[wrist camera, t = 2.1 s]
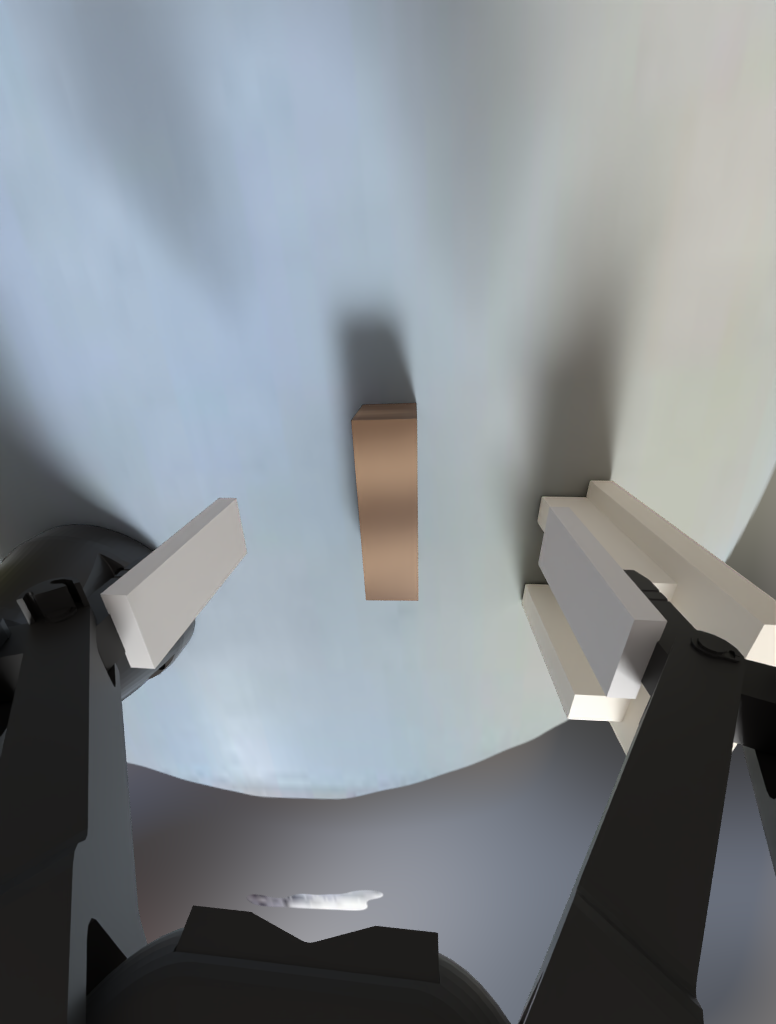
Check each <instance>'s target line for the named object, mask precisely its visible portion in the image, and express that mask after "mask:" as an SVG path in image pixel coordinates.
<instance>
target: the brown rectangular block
mask: <svg viewBox="0 0 776 1024" xmlns="http://www.w3.org/2000/svg"><path fill="white" fill-rule="evenodd" d="M351 423H352V435H353V447H354V460H355V472H356V484H357V496H358V508H359V520H360V532H361V545H362V557H363V569H364V581H365V593H366V600H406V601H418V497H417V407H416V403H398V404H366V405H362V406H361V408H360V409H359V411H358V412H357V413H356V415H355V416H354V417H353V419H352V420H351Z"/></svg>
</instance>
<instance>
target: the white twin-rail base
mask: <svg viewBox="0 0 776 1024" xmlns="http://www.w3.org/2000/svg"><path fill="white" fill-rule="evenodd" d="M549 507H569V508H570V509H571V510H572V511H573V512H574V514H575V515H576V516H577V517H578V518H579V519H580V521H581V522H582V523H583V524H584V525H585V526H586V527H587V529H588V530H589V531H590V532H591V533H592V534H593V536H594V537H595V538H596V539H597V540H598V541H599V543H600V544H601V545H602V546H603V547H604V548H605V550H606V551H607V552H608V553H609V554H610V555H611V556H612V558H613V559H614V560H615V561H616V562H617V563H618V565H619V566H620V567H621V568H622V569H623V570H635V571H636V572H638V573H639V574H641V575H643V576H644V577H646V578H647V579H649V580H650V581H651V582H652V583H653V584H654V585H655V586H656V587H657V588H658V590H659V592H661V593H662V594H663V595H664V596H665V597H666V598H667V599H668V601H670V602H671V603H672V604H673V606H674V607H675V608H676V609H677V610H678V611H679V612H680V613H681V614H682V615H683V616H684V617H685V618H686V619H687V621H688V622H689V623H690V624H691V625H692V626H693V627H694V628H695V629H696V630H700V631H704V632H707V633H710V634H713V635H716V636H718V637H720V638H722V639H724V640H726V641H727V642H729V643H730V644H731V645H733V646H734V647H736V648H737V649H738V650H739V652H740V653H741V654H742V655H743V656H744V659H747V660H751V661H755V662H759V663H763V664H767V665H771V666H775V667H776V600H774V599H773V598H772V597H770V596H769V595H768V594H766V593H765V592H764V591H762V590H761V589H759V588H758V587H757V586H755V585H754V584H752V583H751V582H750V581H749V580H747V579H746V578H744V577H743V576H742V575H740V574H739V573H738V572H736V571H735V570H733V569H732V568H731V567H730V566H728V565H727V564H725V563H724V562H723V561H721V560H720V559H719V558H717V557H716V556H715V555H713V554H712V553H710V552H709V551H708V550H706V549H705V548H704V547H702V546H701V545H700V544H698V543H697V542H695V541H694V540H693V539H691V538H690V537H689V536H687V535H686V534H685V533H683V532H682V531H680V530H679V529H678V528H676V527H675V526H674V525H672V524H671V523H670V522H668V521H667V520H665V519H664V518H663V517H661V516H660V515H659V514H657V513H656V512H655V511H653V510H652V509H650V508H649V507H648V506H646V505H645V504H644V503H642V502H641V501H640V500H638V499H637V498H635V497H634V496H633V495H631V494H630V493H629V492H627V491H626V490H625V489H623V488H622V487H620V486H619V485H618V484H616V483H615V482H614V481H593V480H590V483H589V487H588V491H587V495H586V497H544V496H542V499H541V504H540V509H539V515H538V520H537V522H538V524H539V525H540V527H541V528H542V530H543V531H545V526H546V521H547V516H548V511H549ZM522 606H523V609H524V611H525V614H526V616H527V619H528V621H529V624H530V626H531V629H532V631H533V634H534V636H535V639H536V641H537V644H538V646H539V649H540V651H541V654H542V656H543V659H544V661H545V664H546V666H547V669H548V671H549V674H550V676H551V679H552V681H553V684H554V686H555V689H556V691H557V694H558V696H559V699H560V701H561V704H562V706H563V709H564V711H565V714H566V716H567V719H580V720H599V721H609V722H610V724H611V726H612V728H613V730H614V732H615V734H616V736H617V738H618V740H619V742H620V744H621V746H622V748H623V750H624V752H625V754H626V755H627V753H628V750H629V748H630V746H631V743H632V741H633V738H634V736H635V733H636V731H637V728H638V726H639V722H640V720H641V717H642V715H643V713H644V710H645V708H646V706H647V703H648V701H649V699H650V697H651V696H650V695H649V693H648V692H647V690H646V689H645V687H644V685H643V684H641V687H640V689H639V692H638V694H637V697H636V699H626V698H610V697H606V695H605V693H604V691H603V690H602V688H601V686H600V684H599V682H598V680H597V678H596V676H595V674H594V672H593V670H592V668H591V666H590V664H589V662H588V660H587V658H586V656H585V654H584V653H583V651H582V649H581V647H580V645H579V643H578V641H577V639H576V637H575V635H574V633H573V631H572V629H571V627H570V625H569V623H568V621H567V619H566V617H565V616H564V614H563V612H562V610H561V608H560V606H559V604H558V602H557V600H556V598H555V596H554V594H553V592H552V590H551V588H550V586H549V585H542V584H525V589H524V595H523V600H522ZM736 745H737V743H734V742H733V748H732V751H733V750H734V748H735V746H736Z"/></svg>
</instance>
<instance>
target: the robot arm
mask: <svg viewBox="0 0 776 1024" xmlns="http://www.w3.org/2000/svg"><path fill="white" fill-rule="evenodd" d="M246 554H247V549H246V544H245V539H244V534H243V529H242V524H241V519H240V514H239V509H238V504H237V499H236V498H218V499H217V500H216V501H215V502H214V503H212V504H211V505H210V506H209V507H207V508H206V509H205V510H204V511H202V512H201V513H200V514H199V515H197V516H196V517H195V518H194V519H192V520H191V521H190V522H189V523H188V524H186V525H185V526H184V527H183V528H181V529H180V530H179V531H178V532H176V533H175V534H174V535H173V536H171V537H170V538H169V539H168V540H167V541H165V542H164V543H163V544H162V545H160V546H159V547H158V548H157V549H155V550H154V551H151V550H150V549H148V548H147V547H145V546H144V545H142V544H140V543H139V542H137V541H135V540H133V539H131V538H129V537H127V536H125V535H122V534H120V533H117V532H114V531H111V530H108V529H104V528H100V527H95V526H88V525H66V526H60V527H56V528H53V529H50V530H47V531H45V532H43V533H41V534H40V535H38V536H36V537H34V538H32V539H30V540H28V541H26V542H25V543H23V544H21V545H20V546H18V547H17V548H15V549H14V550H13V551H11V552H10V553H9V554H8V555H7V556H6V557H5V558H4V560H3V562H2V563H1V564H0V1024H511V1023H510V1022H509V1020H508V1019H507V1017H506V1016H505V1015H504V1013H503V1012H502V1010H501V1009H500V1007H499V1006H498V1004H497V1003H496V1002H495V1000H494V999H493V998H492V997H491V996H490V994H489V993H488V992H487V991H486V990H485V989H484V987H483V986H482V985H481V984H480V983H479V982H478V981H477V980H476V979H475V978H474V977H473V976H472V975H471V974H470V973H469V972H467V971H466V970H465V969H464V968H462V967H461V966H459V965H458V964H457V963H455V962H454V961H453V960H451V959H449V958H447V957H445V956H444V955H442V954H440V953H438V933H435V932H426V931H416V930H407V929H399V928H390V927H380V926H374V927H370V928H366V929H362V930H359V931H355V932H351V933H347V934H343V935H340V936H336V937H332V938H328V939H325V940H321V941H317V942H313V943H307V942H304V941H301V940H300V939H298V938H296V937H294V936H293V935H291V934H289V933H287V932H285V931H284V930H282V929H280V928H278V927H276V926H275V925H273V924H271V923H269V922H268V921H266V920H264V919H262V918H260V917H259V916H257V915H255V914H253V913H252V912H246V911H237V910H228V909H219V908H210V907H201V906H193V907H192V910H191V912H190V915H189V917H188V920H187V922H186V925H185V927H184V928H181V929H178V930H175V931H173V932H171V933H168V934H166V935H164V936H161V937H160V938H158V939H156V940H154V941H153V942H151V943H149V944H147V942H146V938H145V934H144V931H143V927H142V924H141V921H140V916H139V910H138V901H137V888H136V876H135V863H134V851H133V838H132V826H131V813H130V801H129V788H128V775H127V762H126V750H125V737H124V724H123V712H122V701H123V700H124V699H125V698H127V697H128V696H129V695H131V694H132V693H133V692H135V691H136V690H137V689H138V688H140V687H141V686H142V685H143V684H144V683H145V682H146V681H147V680H148V679H151V678H153V677H155V676H157V675H158V674H160V673H161V672H163V671H164V670H165V669H167V668H168V667H169V666H170V665H171V664H172V663H173V662H174V661H175V659H176V658H177V657H178V656H179V654H180V653H181V651H182V650H183V649H184V647H185V646H186V645H187V643H188V642H189V640H190V638H191V636H192V634H193V631H194V626H195V618H196V617H197V615H198V614H199V613H200V612H201V610H202V609H203V608H204V607H205V605H206V604H207V603H208V602H209V600H210V599H211V598H212V597H213V595H214V594H215V593H216V592H217V590H218V589H219V588H220V587H221V585H222V584H223V583H224V581H225V580H226V579H227V578H228V576H229V575H230V574H231V573H232V571H233V570H234V569H235V568H236V566H237V565H238V564H239V563H240V561H241V560H242V559H243V558H244V556H245V555H246ZM538 565H539V567H540V569H541V571H542V573H543V575H544V577H545V579H546V580H547V582H548V584H549V586H550V588H551V590H552V592H553V594H554V596H555V598H556V600H557V602H558V604H559V606H560V608H561V610H562V612H563V614H564V616H565V617H566V619H567V621H568V623H569V625H570V627H571V629H572V631H573V633H574V635H575V637H576V639H577V641H578V643H579V645H580V647H581V649H582V651H583V653H584V654H585V656H586V658H587V660H588V662H589V664H590V666H591V668H592V670H593V672H594V674H595V676H596V678H597V680H598V682H599V684H600V686H601V688H602V690H603V691H604V693H605V695H606V697H610V698H626V699H636V697H637V694H638V692H639V689H640V687H641V684H643V685H644V687H645V689H646V690H647V692H648V693H649V695H650V696H651V697H650V699H649V701H648V703H647V706H646V708H645V710H644V713H643V715H642V717H641V720H640V722H639V726H638V728H637V731H636V733H635V736H634V738H633V741H632V743H631V746H630V748H629V750H628V753H627V755H626V758H625V761H624V763H623V765H622V768H621V770H620V773H619V775H618V778H617V781H616V783H615V785H614V788H613V790H612V793H611V795H610V798H609V800H608V803H607V805H606V808H605V810H604V813H603V815H602V817H601V820H600V822H599V825H598V827H597V830H596V832H595V835H594V837H593V840H592V842H591V845H590V847H589V850H588V852H587V855H586V857H585V860H584V862H583V865H582V867H581V870H580V872H579V875H578V877H577V879H576V883H575V885H574V887H573V889H572V892H571V894H570V897H569V900H568V902H567V904H566V907H565V909H564V912H563V914H562V917H561V919H560V922H559V924H558V927H557V929H556V932H555V934H554V936H553V939H552V942H551V944H550V947H549V949H548V951H547V954H546V956H545V959H544V961H543V964H542V966H541V968H540V971H539V973H538V976H537V978H536V981H535V983H534V985H533V987H532V990H531V992H530V995H529V997H528V1000H527V1002H526V1004H525V1007H524V1009H523V1012H522V1014H521V1017H520V1019H519V1022H518V1024H704V1021H703V1010H702V1008H701V1006H700V1004H699V1002H698V1001H697V999H696V982H697V973H698V967H699V961H700V955H701V948H702V941H703V935H704V928H705V922H706V916H707V909H708V902H709V896H710V890H711V884H712V877H713V871H714V864H715V857H716V852H717V845H718V839H719V832H720V826H721V819H722V813H723V806H724V799H725V794H726V787H727V780H728V774H729V768H730V761H731V755H732V748H733V742H734V743H737V744H740V745H742V747H743V751H744V755H745V759H746V763H747V766H748V770H749V774H750V778H751V782H752V786H753V790H754V794H755V798H756V801H757V805H758V809H759V813H760V817H761V821H762V824H763V829H764V832H765V836H766V840H767V844H768V848H769V851H770V856H771V859H772V863H773V867H774V871H775V875H776V667H775V666H771V665H767V664H763V663H759V662H755V661H751V660H747V659H744V656H743V655H742V654H741V653H740V652H739V650H738V649H737V648H736V647H734V646H733V645H731V644H730V643H729V642H727V641H726V640H724V639H722V638H720V637H718V636H716V635H713V634H710V633H707V632H704V631H700V630H696V629H695V628H694V627H693V626H692V625H691V624H690V623H689V622H688V621H687V619H686V618H685V617H684V616H683V615H682V614H681V613H680V612H679V611H678V610H677V609H676V608H675V607H674V606H673V604H672V603H671V602H670V601H668V599H667V598H666V597H665V596H664V595H663V594H662V593H661V592H659V590H658V588H657V587H656V586H655V585H654V584H653V583H652V582H651V581H650V580H649V579H647V578H646V577H644V576H643V575H641V574H639V573H638V572H636V571H635V570H623V569H622V568H621V567H620V566H619V565H618V563H617V562H616V561H615V560H614V559H613V558H612V556H611V555H610V554H609V553H608V552H607V551H606V550H605V548H604V547H603V546H602V545H601V544H600V543H599V541H598V540H597V539H596V538H595V537H594V536H593V534H592V533H591V532H590V531H589V530H588V529H587V527H586V526H585V525H584V524H583V523H582V522H581V521H580V519H579V518H578V517H577V516H576V515H575V514H574V512H573V511H572V510H571V509H570V508H569V507H549V511H548V516H547V521H546V526H545V531H544V536H543V541H542V546H541V551H540V556H539V561H538Z"/></svg>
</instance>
